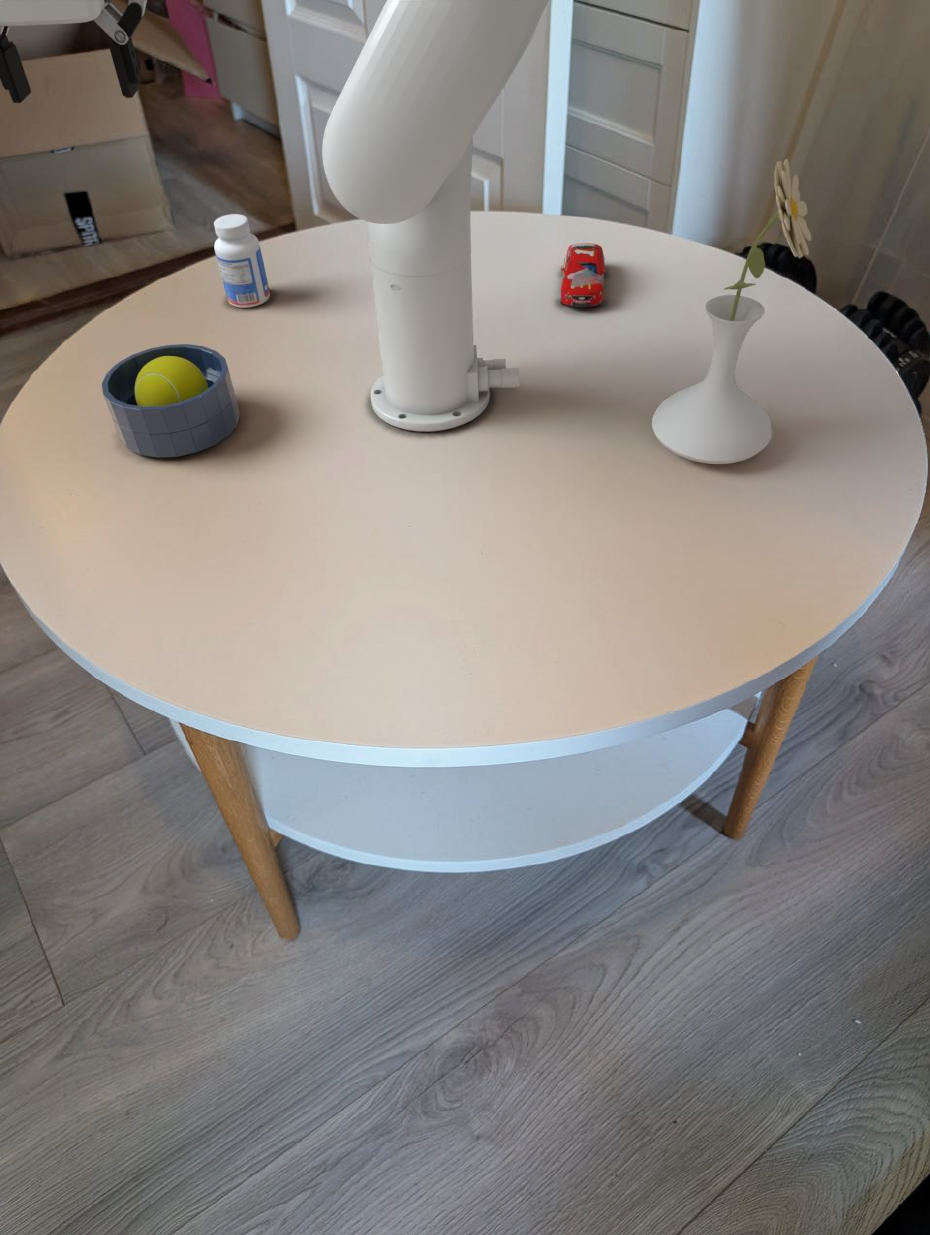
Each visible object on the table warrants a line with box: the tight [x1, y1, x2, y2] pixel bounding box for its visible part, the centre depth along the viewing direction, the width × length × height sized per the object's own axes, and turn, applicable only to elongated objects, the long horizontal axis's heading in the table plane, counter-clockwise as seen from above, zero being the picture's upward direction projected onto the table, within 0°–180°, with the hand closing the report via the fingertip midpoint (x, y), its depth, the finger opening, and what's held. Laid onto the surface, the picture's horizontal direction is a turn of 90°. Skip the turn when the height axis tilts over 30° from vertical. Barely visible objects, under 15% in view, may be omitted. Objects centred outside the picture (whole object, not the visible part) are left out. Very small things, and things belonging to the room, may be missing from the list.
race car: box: [560, 242, 607, 308], centre depth 108 cm, size 13×5×4 cm, turn 171°
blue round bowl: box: [101, 343, 241, 459], centre depth 89 cm, size 12×12×6 cm
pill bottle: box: [213, 213, 271, 309], centre depth 107 cm, size 6×5×10 cm
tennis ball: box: [135, 356, 208, 407], centre depth 88 cm, size 7×7×7 cm
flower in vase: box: [651, 158, 812, 465], centre depth 77 cm, size 13×11×25 cm
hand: (77, 95), depth 78 cm, fingers open, 9 cm apart
